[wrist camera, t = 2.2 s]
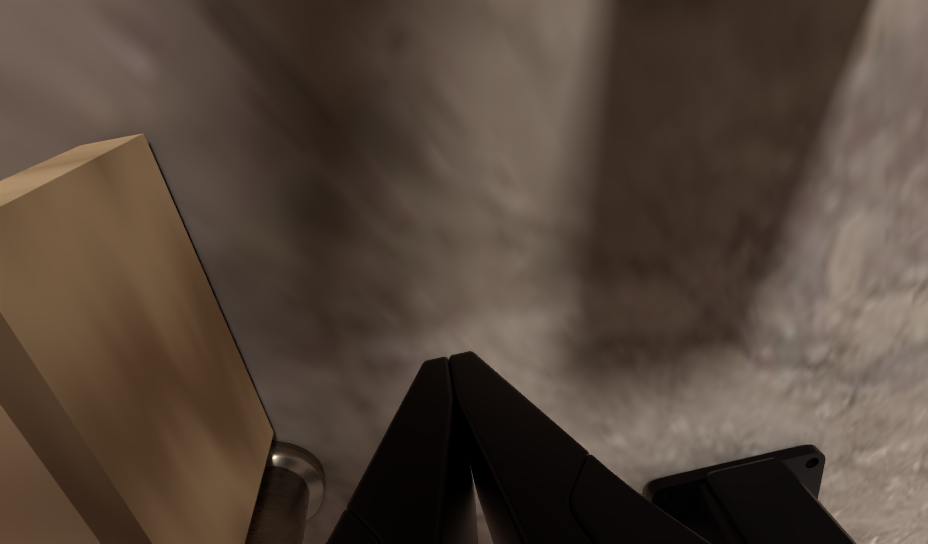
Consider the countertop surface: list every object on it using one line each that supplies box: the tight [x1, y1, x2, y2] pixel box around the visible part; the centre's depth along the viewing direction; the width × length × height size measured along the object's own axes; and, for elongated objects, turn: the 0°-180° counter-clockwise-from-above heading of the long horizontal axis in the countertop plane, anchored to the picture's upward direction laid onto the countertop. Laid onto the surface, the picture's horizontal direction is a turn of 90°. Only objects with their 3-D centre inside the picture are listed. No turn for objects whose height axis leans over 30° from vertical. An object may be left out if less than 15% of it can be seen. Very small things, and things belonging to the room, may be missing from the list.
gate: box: [0, 133, 274, 544], centre depth 11 cm, size 9×1×7 cm, turn 9°
